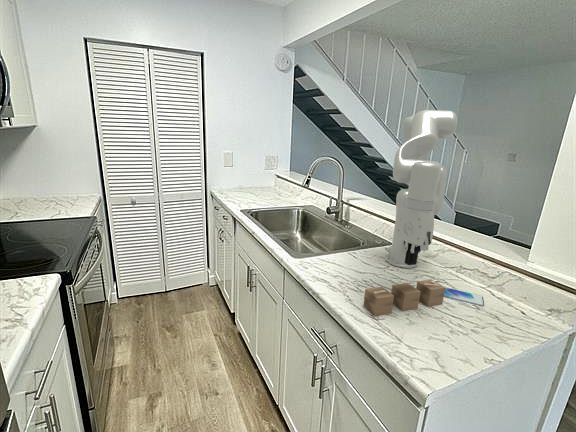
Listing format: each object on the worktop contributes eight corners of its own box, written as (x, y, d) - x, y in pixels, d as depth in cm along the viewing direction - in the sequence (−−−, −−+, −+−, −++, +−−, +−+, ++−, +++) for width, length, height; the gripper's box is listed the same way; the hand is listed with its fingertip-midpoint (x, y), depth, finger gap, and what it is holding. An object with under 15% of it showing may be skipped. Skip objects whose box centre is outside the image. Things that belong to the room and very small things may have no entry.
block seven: (414, 297, 106) (417, 280, 104) (428, 295, 108) (431, 278, 106) (427, 307, 100) (431, 289, 99) (442, 304, 102) (445, 287, 101)
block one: (363, 306, 99) (365, 288, 97) (379, 303, 101) (381, 285, 99) (374, 316, 93) (377, 297, 92) (391, 313, 96) (394, 295, 94)
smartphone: (484, 306, 102) (434, 293, 108) (484, 308, 102) (433, 295, 109) (483, 295, 108) (435, 284, 115) (482, 298, 108) (435, 286, 115)
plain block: (389, 301, 102) (392, 285, 101) (404, 299, 104) (407, 282, 103) (402, 311, 97) (405, 294, 95) (417, 308, 99) (420, 291, 97)
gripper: (392, 200, 98) (384, 256, 102) (428, 211, 84) (418, 275, 88) (411, 199, 100) (403, 254, 105) (450, 210, 87) (438, 272, 91)
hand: (410, 263), depth 96 cm, fingers closed
